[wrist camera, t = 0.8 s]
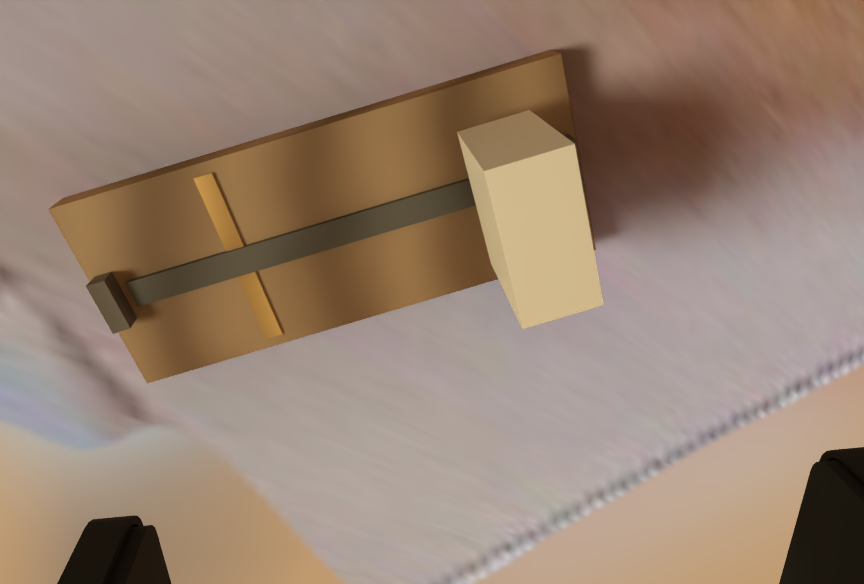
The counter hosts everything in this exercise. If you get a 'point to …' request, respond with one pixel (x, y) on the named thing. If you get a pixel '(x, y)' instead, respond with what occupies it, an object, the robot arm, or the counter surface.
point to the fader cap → (533, 216)
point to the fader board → (301, 223)
